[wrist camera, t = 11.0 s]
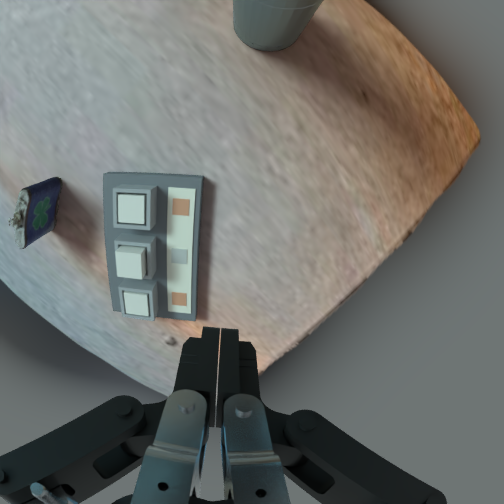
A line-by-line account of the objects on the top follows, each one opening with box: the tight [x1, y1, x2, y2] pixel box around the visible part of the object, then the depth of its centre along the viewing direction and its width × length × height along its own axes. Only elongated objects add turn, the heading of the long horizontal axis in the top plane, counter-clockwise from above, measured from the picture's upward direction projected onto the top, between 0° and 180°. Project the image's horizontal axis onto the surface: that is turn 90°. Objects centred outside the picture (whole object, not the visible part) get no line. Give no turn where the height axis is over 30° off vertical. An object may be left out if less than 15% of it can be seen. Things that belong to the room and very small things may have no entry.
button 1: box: [124, 291, 150, 316], centre depth 40 cm, size 4×4×3 cm
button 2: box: [118, 193, 147, 224], centre depth 35 cm, size 4×4×3 cm
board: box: [103, 172, 204, 321], centre depth 38 cm, size 22×14×5 cm, turn 174°
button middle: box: [115, 245, 148, 279], centre depth 36 cm, size 4×4×3 cm
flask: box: [8, 177, 62, 249], centre depth 32 cm, size 9×3×11 cm, turn 156°
